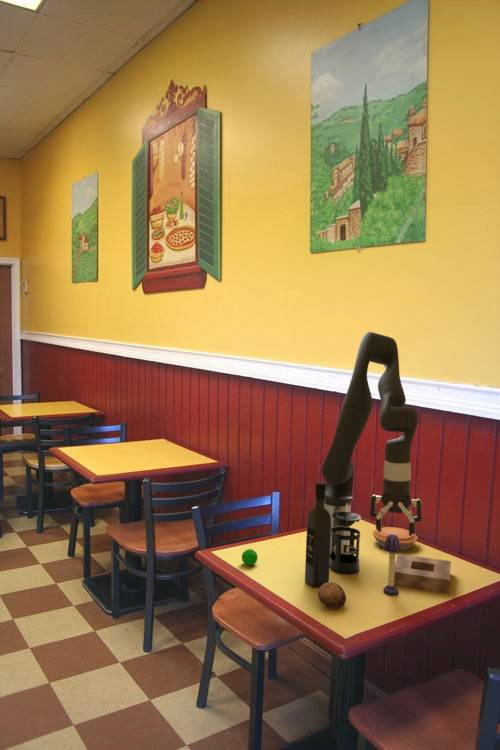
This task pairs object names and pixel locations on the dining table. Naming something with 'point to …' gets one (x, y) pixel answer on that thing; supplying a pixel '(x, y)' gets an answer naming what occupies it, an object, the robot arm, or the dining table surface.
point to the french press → (345, 553)
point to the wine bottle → (318, 540)
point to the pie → (402, 535)
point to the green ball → (249, 557)
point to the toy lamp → (391, 562)
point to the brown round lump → (332, 595)
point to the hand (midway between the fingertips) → (395, 533)
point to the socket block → (422, 573)
